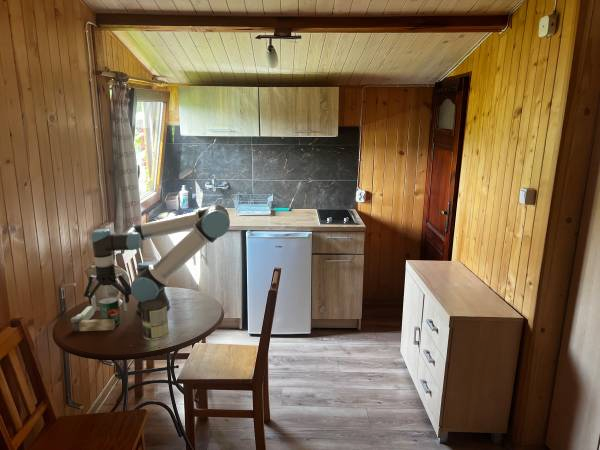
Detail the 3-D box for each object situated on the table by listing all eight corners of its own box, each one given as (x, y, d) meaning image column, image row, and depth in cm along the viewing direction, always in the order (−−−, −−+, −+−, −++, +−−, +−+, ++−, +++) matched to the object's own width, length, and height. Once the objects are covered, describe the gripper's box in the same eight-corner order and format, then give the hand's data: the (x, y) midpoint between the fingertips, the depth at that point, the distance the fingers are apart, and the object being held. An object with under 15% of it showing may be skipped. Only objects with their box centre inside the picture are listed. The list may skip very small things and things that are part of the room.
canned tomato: (105, 319, 198) (102, 296, 195) (122, 318, 198) (120, 296, 196) (98, 327, 190) (96, 303, 188) (117, 326, 191) (114, 303, 188)
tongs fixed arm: (72, 331, 186) (70, 323, 185) (75, 328, 189) (74, 319, 188) (113, 330, 187) (112, 321, 186) (115, 327, 190) (114, 318, 189)
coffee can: (139, 340, 178) (136, 308, 175) (148, 328, 189) (145, 298, 185) (164, 340, 178) (161, 308, 175) (172, 329, 188) (169, 298, 185)
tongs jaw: (80, 331, 186) (78, 320, 184) (70, 331, 185) (69, 320, 184) (95, 314, 203) (94, 303, 202) (86, 314, 202) (85, 303, 201)
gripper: (136, 260, 193) (141, 305, 197) (78, 263, 191) (85, 308, 196) (131, 266, 185) (136, 312, 190) (71, 268, 184) (78, 315, 188)
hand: (110, 310), depth 193 cm, fingers open, 13 cm apart
